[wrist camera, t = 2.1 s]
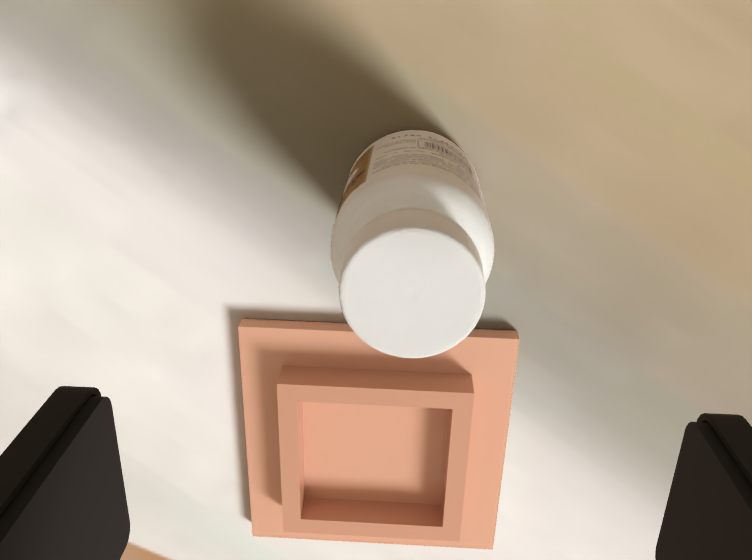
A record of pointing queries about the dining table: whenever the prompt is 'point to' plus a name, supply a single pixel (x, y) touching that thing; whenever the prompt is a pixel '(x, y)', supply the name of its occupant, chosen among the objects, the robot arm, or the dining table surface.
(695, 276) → the dining table surface
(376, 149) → the pill bottle
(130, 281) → the dining table surface
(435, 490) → the rest
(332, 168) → the dining table surface
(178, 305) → the dining table surface
